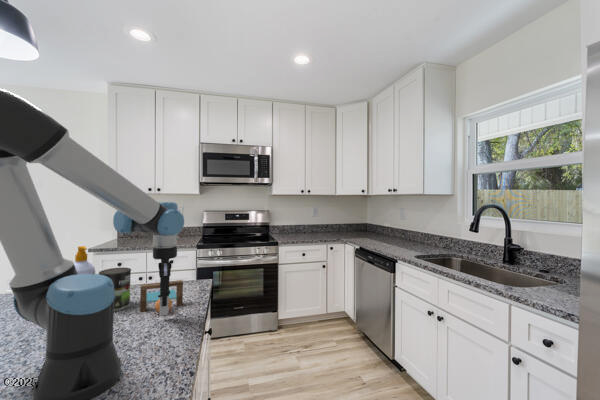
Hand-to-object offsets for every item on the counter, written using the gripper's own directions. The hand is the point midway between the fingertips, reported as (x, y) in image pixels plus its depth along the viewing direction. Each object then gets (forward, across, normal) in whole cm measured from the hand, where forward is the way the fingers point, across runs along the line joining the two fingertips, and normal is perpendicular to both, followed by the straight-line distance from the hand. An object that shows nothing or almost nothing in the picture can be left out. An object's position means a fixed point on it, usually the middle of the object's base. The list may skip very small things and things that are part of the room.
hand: (164, 314), depth 93 cm
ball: (-1, +7, 0) cm, 7 cm away
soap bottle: (+2, +23, +27) cm, 35 cm away
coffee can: (+2, +21, +16) cm, 27 cm away
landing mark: (+2, +27, 0) cm, 27 cm away
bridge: (+2, +13, 0) cm, 13 cm away
